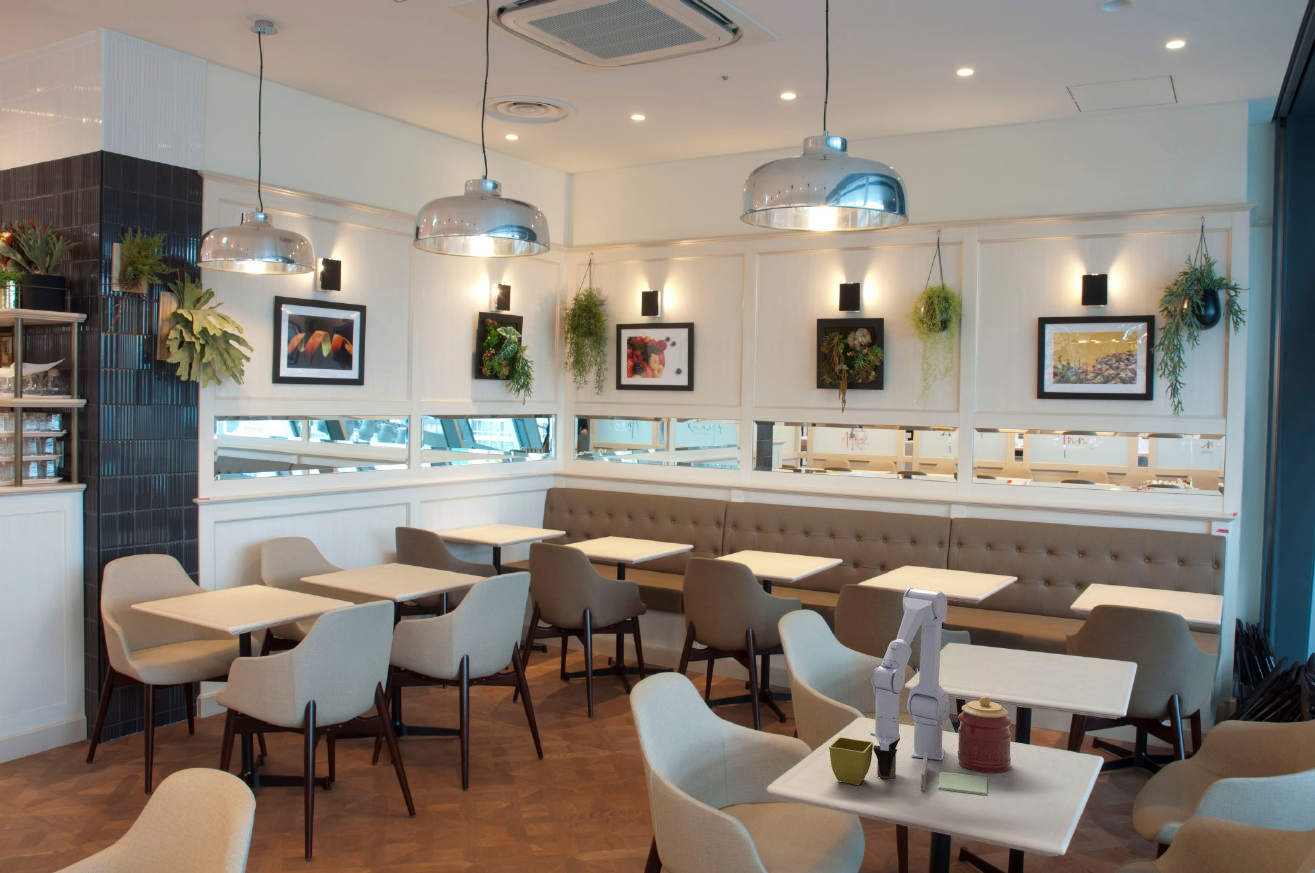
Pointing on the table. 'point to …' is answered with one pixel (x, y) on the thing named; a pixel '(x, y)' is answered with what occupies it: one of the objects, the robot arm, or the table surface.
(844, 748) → the flower pot
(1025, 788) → the table surface
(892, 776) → the walnut cylinder
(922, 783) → the grey wall
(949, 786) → the green mat
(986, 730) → the canister
